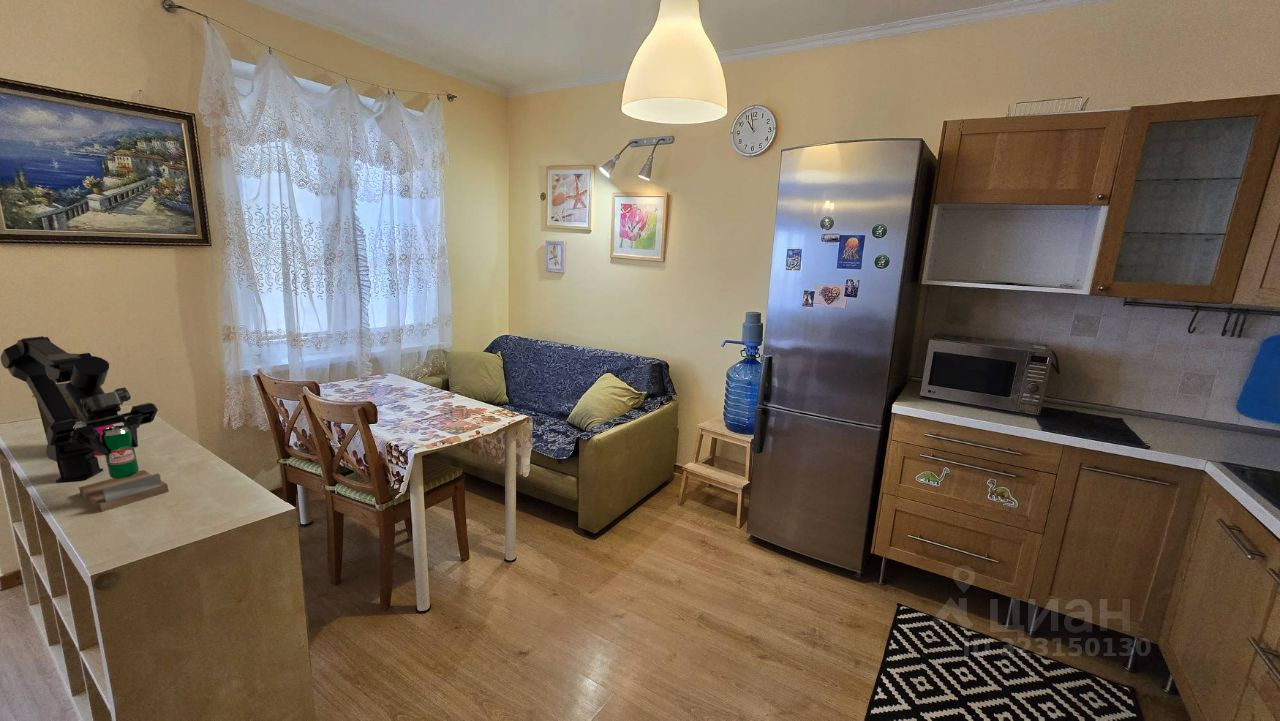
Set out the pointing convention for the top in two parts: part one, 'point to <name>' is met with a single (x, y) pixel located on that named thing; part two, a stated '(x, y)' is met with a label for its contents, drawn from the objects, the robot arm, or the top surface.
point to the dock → (123, 490)
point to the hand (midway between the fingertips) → (122, 450)
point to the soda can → (119, 452)
